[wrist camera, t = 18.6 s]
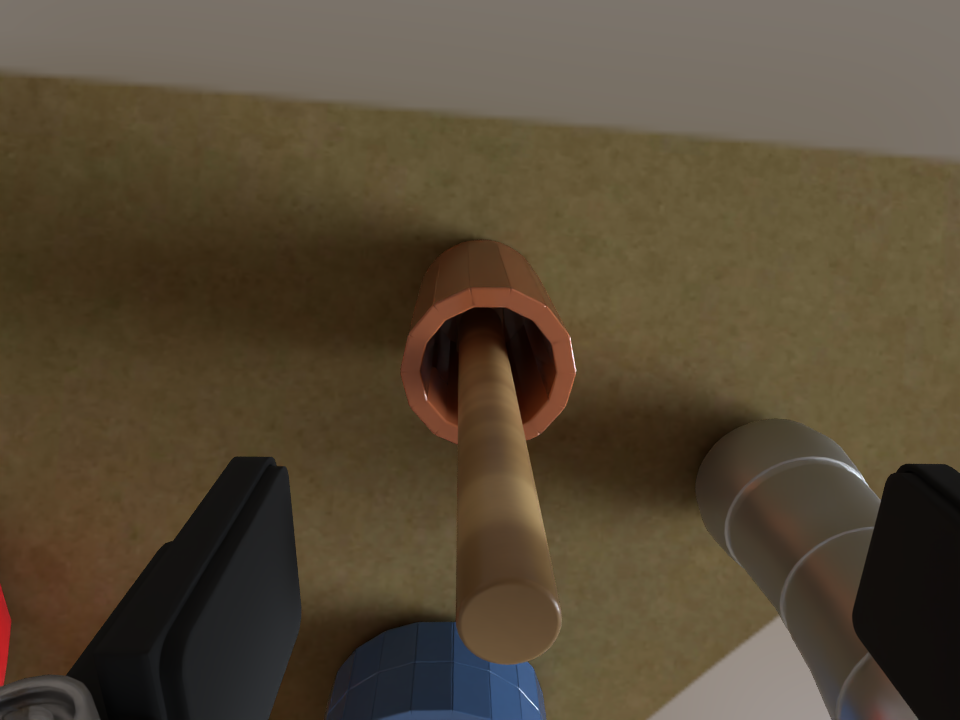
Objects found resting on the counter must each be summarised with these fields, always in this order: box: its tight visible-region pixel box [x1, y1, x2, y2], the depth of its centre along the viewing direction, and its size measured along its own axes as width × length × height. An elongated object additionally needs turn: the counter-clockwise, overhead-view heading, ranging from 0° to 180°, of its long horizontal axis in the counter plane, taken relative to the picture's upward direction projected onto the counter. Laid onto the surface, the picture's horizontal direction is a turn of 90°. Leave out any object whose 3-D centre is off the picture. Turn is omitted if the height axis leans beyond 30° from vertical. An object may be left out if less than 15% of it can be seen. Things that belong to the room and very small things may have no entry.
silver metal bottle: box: [695, 419, 918, 720], centre depth 22 cm, size 6×7×20 cm
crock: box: [400, 240, 576, 445], centre depth 24 cm, size 5×5×9 cm
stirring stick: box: [456, 307, 562, 665], centre depth 19 cm, size 2×2×19 cm
